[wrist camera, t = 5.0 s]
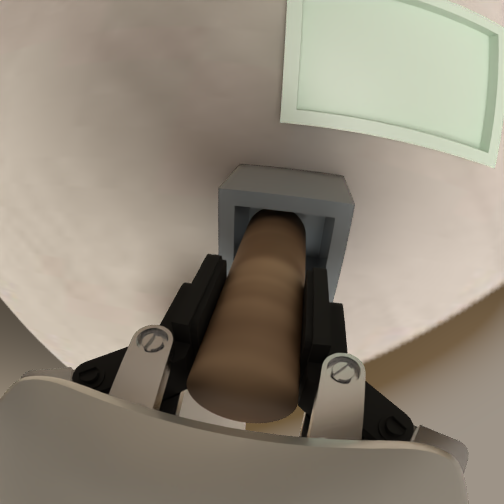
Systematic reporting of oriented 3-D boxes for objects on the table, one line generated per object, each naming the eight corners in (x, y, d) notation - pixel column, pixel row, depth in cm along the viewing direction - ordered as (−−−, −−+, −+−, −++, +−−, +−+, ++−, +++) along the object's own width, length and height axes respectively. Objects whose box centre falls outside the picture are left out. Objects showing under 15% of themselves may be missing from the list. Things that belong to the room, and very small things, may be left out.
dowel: (247, 203, 16) (179, 354, 7) (309, 210, 15) (307, 374, 7) (245, 255, 17) (192, 412, 9) (301, 262, 17) (289, 428, 8)
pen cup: (240, 164, 18) (218, 188, 14) (343, 175, 17) (354, 204, 13) (237, 252, 22) (219, 295, 17) (327, 264, 21) (330, 311, 16)
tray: (282, 119, 16) (279, 122, 15) (290, -24, 12) (288, -34, 10) (481, 161, 15) (494, 168, 13) (493, 31, 10) (507, 29, 8)
